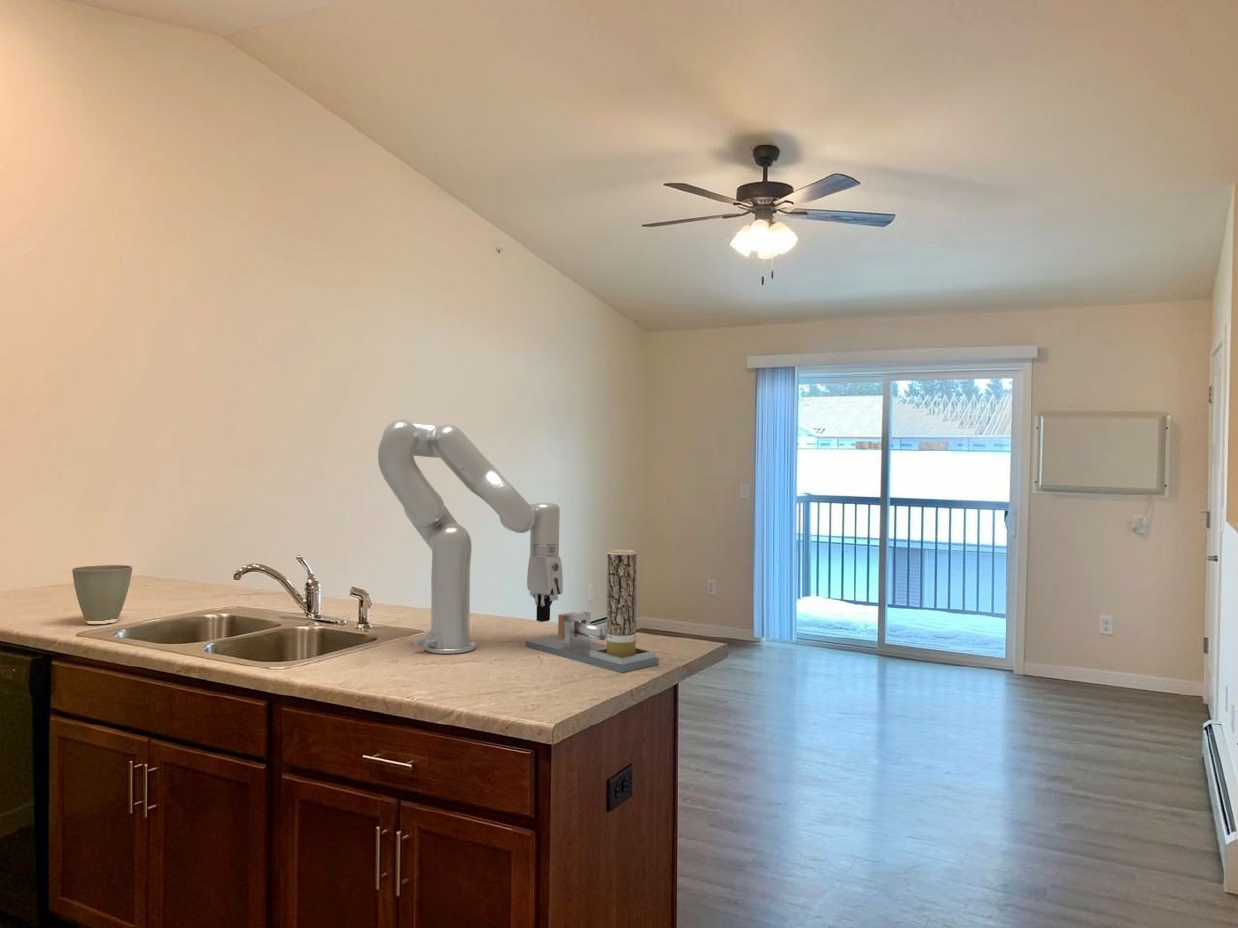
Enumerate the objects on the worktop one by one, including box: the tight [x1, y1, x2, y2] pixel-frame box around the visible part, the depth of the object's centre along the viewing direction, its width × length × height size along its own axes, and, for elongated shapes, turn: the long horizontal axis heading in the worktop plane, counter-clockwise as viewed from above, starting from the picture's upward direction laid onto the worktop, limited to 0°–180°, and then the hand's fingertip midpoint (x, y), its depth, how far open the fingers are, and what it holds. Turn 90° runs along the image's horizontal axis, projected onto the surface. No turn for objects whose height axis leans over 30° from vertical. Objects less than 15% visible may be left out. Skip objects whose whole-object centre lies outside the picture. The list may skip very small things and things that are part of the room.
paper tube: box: [606, 549, 638, 657], centre depth 201 cm, size 7×7×25 cm
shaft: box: [557, 611, 607, 641], centre depth 211 cm, size 5×14×6 cm, turn 43°
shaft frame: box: [524, 611, 660, 674], centre depth 210 cm, size 12×36×10 cm, turn 43°
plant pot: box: [71, 564, 133, 622], centre depth 245 cm, size 15×15×16 cm
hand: (543, 620), depth 223 cm, fingers closed
